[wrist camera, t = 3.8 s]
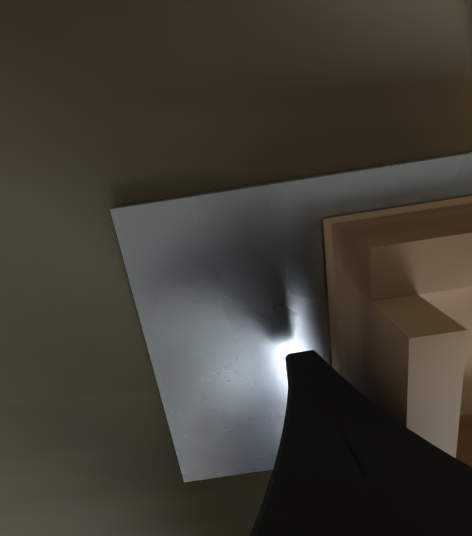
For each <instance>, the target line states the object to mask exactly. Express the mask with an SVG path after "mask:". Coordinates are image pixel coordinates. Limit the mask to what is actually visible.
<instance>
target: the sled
mask: <svg viewBox="0 0 472 536" xmlns="http://www.w3.org/2000/svg"><path fill="white" fill-rule="evenodd" d="M323 224H324V240H325V256H326V273H327V289H328V305H329V322H330V338H331V354H332V368H333V369H334V370H336V371H337V372H338V373H339V374H340V375H341V376H342V377H343V378H344V379H345V380H347V381H348V382H349V383H350V384H351V385H352V386H354V387H355V388H356V389H357V390H358V391H360V392H361V393H362V394H363V395H364V396H365V397H367V398H368V399H369V400H370V401H372V402H373V403H374V404H375V405H377V406H378V407H379V408H381V409H382V410H383V411H385V412H386V413H387V414H389V415H390V416H391V417H393V418H394V419H395V420H397V421H398V422H400V423H401V424H402V425H404V426H405V427H407V428H408V429H410V430H411V431H413V432H414V433H416V434H417V435H419V436H420V437H422V438H424V439H425V440H427V441H428V442H430V443H431V444H433V445H434V446H436V447H438V448H439V449H441V450H443V451H444V452H446V453H448V454H449V455H451V456H453V457H454V458H456V459H458V460H460V461H461V462H463V463H465V464H467V465H469V466H470V467H472V196H468V197H462V198H455V199H449V200H442V201H436V202H429V203H423V204H416V205H410V206H403V207H397V208H390V209H384V210H377V211H371V212H364V213H357V214H351V215H344V216H338V217H331V218H325V219H323Z"/></svg>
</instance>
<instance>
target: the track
mask: <svg viewBox="0 0 472 536" xmlns="http://www.w3.org/2000/svg"><path fill="white" fill-rule="evenodd" d="M468 196H472V151H471V152H465V153H458V154H452V155H445V156H439V157H433V158H426V159H420V160H413V161H407V162H400V163H394V164H387V165H381V166H375V167H368V168H362V169H355V170H349V171H342V172H336V173H329V174H323V175H316V176H310V177H304V178H297V179H291V180H284V181H278V182H271V183H265V184H258V185H252V186H246V187H239V188H233V189H226V190H220V191H213V192H207V193H200V194H194V195H187V196H181V197H175V198H168V199H162V200H155V201H149V202H142V203H136V204H129V205H123V206H117V207H114V208H112V209H110V212H111V216H112V220H113V223H114V227H115V231H116V234H117V238H118V242H119V245H120V249H121V253H122V256H123V260H124V264H125V267H126V271H127V275H128V278H129V282H130V286H131V289H132V293H133V297H134V300H135V304H136V308H137V311H138V315H139V319H140V322H141V326H142V330H143V333H144V337H145V341H146V344H147V348H148V352H149V355H150V359H151V363H152V366H153V370H154V374H155V377H156V381H157V385H158V388H159V392H160V396H161V399H162V403H163V407H164V410H165V414H166V418H167V421H168V425H169V429H170V432H171V436H172V440H173V443H174V447H175V451H176V454H177V458H178V462H179V465H180V469H181V473H182V476H183V480H184V482H190V481H197V480H204V479H211V478H218V477H225V476H232V475H239V474H246V473H253V472H260V471H267V470H273V468H274V464H275V460H276V457H277V453H278V449H279V444H280V440H281V435H282V430H283V424H284V418H285V412H286V406H287V394H288V379H287V371H286V362H285V357H286V356H287V355H288V354H289V353H296V352H303V351H309V350H314V351H315V352H317V353H318V354H319V355H320V356H321V357H322V358H323V359H324V360H325V361H326V362H327V363H328V364H329V365H330V366H331V367H332V354H331V338H330V322H329V305H328V289H327V273H326V256H325V240H324V224H323V219H325V218H331V217H338V216H344V215H351V214H357V213H364V212H371V211H377V210H384V209H390V208H397V207H403V206H410V205H416V204H423V203H429V202H436V201H442V200H449V199H455V198H462V197H468Z"/></svg>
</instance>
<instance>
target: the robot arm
mask: <svg viewBox="0 0 472 536" xmlns="http://www.w3.org/2000/svg"><path fill="white" fill-rule="evenodd" d="M285 362H286V371H287V379H288V394H287V406H286V412H285V418H284V424H283V430H282V435H281V440H280V444H279V449H278V453H277V457H276V460H275V464H274V468H273V471H272V474H271V478H270V481H269V484H268V487H267V491H266V494H265V497H264V500H263V503H262V506H261V508H260V511H259V514H258V516H257V519H256V521H255V524H254V526H253V529H252V532H251V534H250V536H472V467H470V466H469V465H467V464H465V463H463V462H461V461H460V460H458V459H456V458H454V457H453V456H451V455H449V454H448V453H446V452H444V451H443V450H441V449H439V448H438V447H436V446H434V445H433V444H431V443H430V442H428V441H427V440H425V439H424V438H422V437H420V436H419V435H417V434H416V433H414V432H413V431H411V430H410V429H408V428H407V427H405V426H404V425H402V424H401V423H400V422H398V421H397V420H395V419H394V418H393V417H391V416H390V415H389V414H387V413H386V412H385V411H383V410H382V409H381V408H379V407H378V406H377V405H375V404H374V403H373V402H372V401H370V400H369V399H368V398H367V397H365V396H364V395H363V394H362V393H361V392H360V391H358V390H357V389H356V388H355V387H354V386H352V385H351V384H350V383H349V382H348V381H347V380H345V379H344V378H343V377H342V376H341V375H340V374H339V373H338V372H337V371H336V370H334V369H333V368H332V367H331V366H330V365H329V364H328V363H327V362H326V361H325V360H324V359H323V358H322V357H321V356H320V355H319V354H318V353H317V352H315V351H314V350H309V351H303V352H296V353H289V354H288V355H287V356H286V357H285Z"/></svg>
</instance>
